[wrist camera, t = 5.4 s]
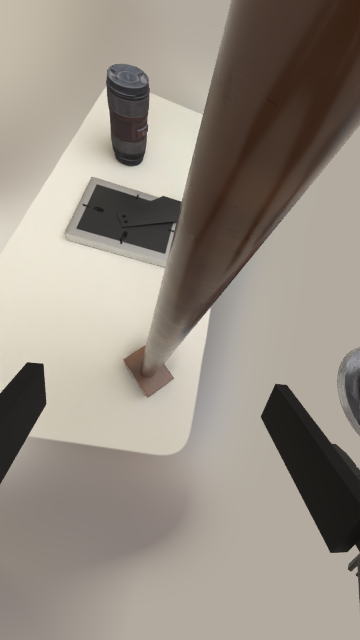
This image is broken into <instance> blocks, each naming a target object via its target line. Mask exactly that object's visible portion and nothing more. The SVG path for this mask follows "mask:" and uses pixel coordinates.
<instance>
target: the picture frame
mask: <svg viewBox="0 0 360 640" xmlns="http://www.w3.org/2000/svg"><path fill="white" fill-rule="evenodd" d="M180 206H181V202H180V201H177V200H174V199H171V198H168V197H165V196H162V197H160V198H158V197H155V196H152V195H149V194H146V193H142V192H139V191H136V190H133V189H130V188H126V187H123V186H120V185H117V184H114V183H111V182H107V181H104V180H101V179H98V178H95V177H91V179H90V181H89V183H88V186H87V188H86V190H85V192H84V194H83V196H82V198H81V200H80V202H79V204H78V206H77V208H76V210H75V212H74V214H73V216H72V219H71V221H70V223H69V225H68V227H67V229H66V231H65V236H66V238H67V240H69V241H72V242H76V243H79V244H83V245H87V246H90V247H94V248H97V249H101V250H105V251H108V252H112V253H115V254H119V255H123V256H126V257H130V258H133V259H137V260H141V261H144V262H148V263H151V264H155V265H159V266H162V267H166V263H167V259H168V255H169V251H170V247H171V243H172V239H173V235H174V231H175V226H176V222H177V218H178V214H179V210H180Z"/></svg>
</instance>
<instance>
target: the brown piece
mask: <svg viewBox="0 0 360 640" xmlns="http://www.w3.org/2000/svg"><path fill="white" fill-rule="evenodd" d="M359 126H360V0H231V4H230V8H229V12H228V16H227V20H226V24H225V28H224V33H223V36H222V41H221V45H220V49H219V53H218V57H217V61H216V65H215V69H214V73H213V77H212V81H211V85H210V89H209V93H208V97H207V102H206V106H205V109H204V113H203V117H202V121H201V125H200V129H199V133H198V138H197V142H196V146H195V150H194V154H193V158H192V162H191V166H190V170H189V174H188V178H187V182H186V186H185V190H184V194H183V198H182V202H181V206H180V210H179V214H178V218H177V222H176V226H175V231H174V235H173V239H172V243H171V247H170V251H169V255H168V259H167V263H166V267H165V271H164V275H163V279H162V283H161V287H160V291H159V295H158V299H157V303H156V307H155V311H154V315H153V319H152V323H151V328H150V332H149V336H148V340H147V344H146V346H144V347H142V348H141V349H139V350H138V351H136V352H135V353H133V354H131V355H130V356H128V357H127V358H125V359H124V360H123V361H124V364H125V365H126V367H127V368H128V370H129V371H130V373H131V375H132V376H133V378H134V379H135V381H136V382H137V384H138V385H139V387H140V388H141V390H142V392H143V393H144V395H145V396H146V398H148V397H150V396H151V395H152V394H154V393H155V392H156V391H158V390H159V389H160V388H162V387H163V386H164V385H166V384H167V383H169V382H170V381H171V380H173V379H174V378H173V376H172V375H171V373H170V372H169V371H168V369H167V368H166V366H165V365H164V363H165V362H166V360H167V359H168V358H169V357H170V356H171V354H172V353H173V352H174V351H175V350H176V348H177V347H178V346H179V345H180V343H181V342H182V341H183V340H184V339H185V337H186V336H187V335H188V334H189V333H190V331H191V330H192V329H193V328H194V326H195V325H196V324H197V323H198V322H199V320H200V319H201V318H202V317H203V315H204V314H205V313H206V312H207V311H208V309H209V308H210V307H211V306H212V305H213V303H214V302H215V301H216V300H217V298H218V297H219V296H220V295H221V294H222V292H223V291H224V290H225V289H226V288H227V286H228V285H229V284H230V283H231V281H232V280H233V279H234V278H235V277H236V275H237V274H238V273H239V272H240V270H241V269H242V268H243V267H244V266H245V264H246V263H247V262H248V261H249V259H250V258H251V257H252V256H253V255H254V253H255V252H256V251H257V250H258V249H259V247H260V246H261V245H262V244H263V243H264V241H265V240H266V239H267V238H268V236H269V235H270V234H271V233H272V231H273V230H274V229H275V228H276V227H277V225H278V224H279V223H280V222H281V221H282V219H283V218H284V217H285V216H286V214H287V213H288V212H289V211H290V210H291V208H292V207H293V206H294V205H295V204H296V202H297V201H298V200H299V199H300V197H301V196H302V195H303V194H304V193H305V191H306V190H307V189H308V188H309V186H310V185H311V184H312V183H313V182H314V180H315V179H316V178H317V177H318V176H319V174H320V173H321V172H322V171H323V170H324V168H325V167H326V166H327V165H328V163H329V162H330V161H331V160H332V159H333V157H334V156H335V155H336V154H337V153H338V151H339V150H340V149H341V148H342V146H343V145H344V144H345V143H346V141H347V140H348V139H349V138H350V136H351V135H352V134H353V133H354V132H355V130H356V129H357V128H358V127H359Z"/></svg>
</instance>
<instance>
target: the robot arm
mask: <svg viewBox="0 0 360 640" xmlns="http://www.w3.org/2000/svg"><path fill="white" fill-rule="evenodd" d="M45 405H46V392H45V379H44V365H43V364H40V363H29V362H27V363H26V364H25V366H24V367H23V368H22V369H21V370H20V371H19V372H18V374H17V375H16V376H15V377H14V378H13V379H12V381H11V382H10V383H9V384H8V385H7V386H6V388H5V389H4V390H3V391H2V392H1V393H0V483H1V482H2V480H3V478H4V476H5V475H6V473H7V471H8V470H9V468H10V466H11V464H12V463H13V461H14V459H15V457H16V456H17V454H18V452H19V450H20V449H21V447H22V445H23V444H24V442H25V440H26V438H27V437H28V435H29V433H30V431H31V430H32V428H33V426H34V424H35V423H36V421H37V419H38V418H39V416H40V414H41V412H42V411H43V409H44V407H45ZM261 418H262V420H263V422H264V424H265V426H266V428H267V430H268V432H269V434H270V436H271V438H272V440H273V442H274V444H275V446H276V448H277V450H278V451H279V453H280V455H281V457H282V459H283V461H284V463H285V465H286V467H287V469H288V471H289V473H290V475H291V477H292V478H293V480H294V483H295V484H296V486H297V488H298V490H299V492H300V494H301V496H302V498H303V500H304V502H305V504H306V506H307V508H308V510H309V512H310V514H311V516H312V517H313V519H314V521H315V523H316V525H317V527H318V529H319V531H320V533H321V535H322V537H323V539H324V541H325V543H326V545H327V547H328V549H329V551H330V552H331V553H339V552H348V551H349V550H350V549H351V548H352V547H353V546H354V545H356V546H357V548H358V550H359V551H360V470H359V468H357V467H356V465H355V463H354V462H353V461H352V460H351V458H350V457H349V456H348V455H347V454H346V453H345V452H344V451H343V450H342V449H341V448H340V447H339V446H337V445H336V444H331V442H330V441H329V440H328V439H327V437H326V436H325V435H324V433H323V432H322V431H321V429H320V428H319V427H318V425H317V424H316V423H315V422H314V420H313V419H312V418H311V417H310V415H309V414H308V412H307V411H306V410H305V408H304V407H303V406H302V404H301V403H300V402H299V400H298V399H297V398H296V397H295V395H294V394H293V393H292V391H291V390H290V389H289V387H288V386H287V385H280V384H275V386H274V388H273V391H272V393H271V395H270V397H269V400H268V402H267V404H266V406H265V409H264V411H263V413H262V415H261ZM357 566H358V572H357V573H356V576H358V581H359V599H360V554H359V555H358V556H357V557H356V558H354V559H353V560H352V561H351V562H350V563H349V566H348V570H349V571H352V570H353V569H354V568H355V567H357Z"/></svg>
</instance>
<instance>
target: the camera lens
mask: <svg viewBox="0 0 360 640" xmlns="http://www.w3.org/2000/svg"><path fill="white" fill-rule="evenodd" d="M148 81H149V79H148V77H147V75H146V74H145V73H144V72H143V71H142V70H141V69H139V68H137V67H134V66H131V65H127V64H115V65H112V66H110V67H109V69H108V70H107V81H106V84H107V97H108V106H109V110H110V123H111V140H112V145H113V150H114V152H115V156H116V158H117V160H118V161H119V162H121V163H122V164H124V165H127V166H136V165H138V164H140V163H141V162H142V160H143V156H144V154H145V149H146V142H147V132H148V124H147V116H148V110H149V92H150V91H149V90H150V89H149V84H148Z"/></svg>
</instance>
